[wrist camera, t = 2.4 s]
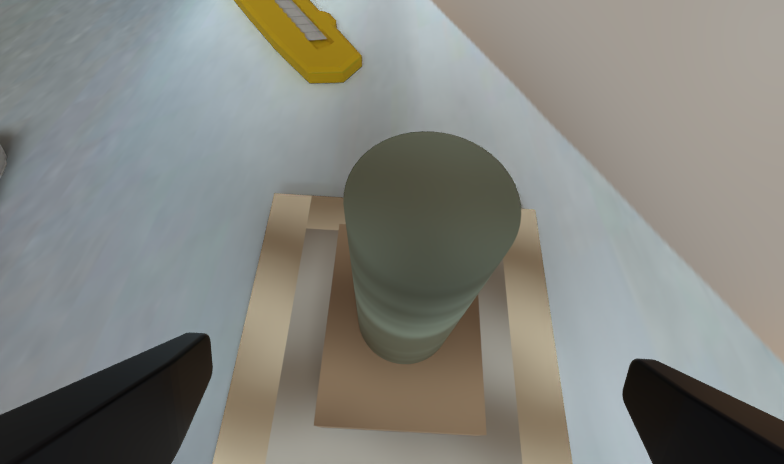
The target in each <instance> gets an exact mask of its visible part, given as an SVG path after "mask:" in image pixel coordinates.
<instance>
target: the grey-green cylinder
mask: <svg viewBox="0 0 784 464" xmlns="http://www.w3.org/2000/svg"><path fill="white" fill-rule="evenodd" d="M343 205H344V214H345V222H346V224H339V231H338V239H337V247H336V255H335V262H334V270H333V278H332V286H331V293H330V301H329V309H328V317H327V324H326V332H325V340H324V348H323V356H322V363H321V371H320V379H319V387H318V394H317V402H316V410H315V418H314V425H313V426H317V427H321V428H335V429H353V430H371V431H389V432H407V433H425V434H443V435H461V436H480V435H487V434H486V417H485V400H484V383H483V366H482V349H481V332H480V315H479V298H478V293H479V292H480V290H481V289H482V288H483V286H484V285H485V283H486V282H487V281H488V279H489V278H490V276H491V275H492V273H493V272H494V271H495V269H496V268H497V266H498V265H499V264H500V262H501V261H502V259H503V258H504V256H505V255H506V254H507V252H508V251H509V249H510V248H511V246H512V245H513V243H514V241H515V239H516V236H517V234H518V231H519V227H520V222H521V203H520V198H519V194H518V191H517V188H516V185H515V184H514V182H513V180H512V178H511V176H510V175H509V173H508V172H507V170H506V169H505V168H504V166H503V165H502V164H501V163H500V162H499V161H498V160H497V159H496V158H495V157H494V156H493V155H491V154H490V153H489V152H487V151H486V150H485V149H483V148H482V147H480V146H478V145H476V144H475V143H473V142H471V141H468V140H466V139H464V138H461V137H458V136H455V135H451V134H446V133H440V132H423V131H422V132H411V133H406V134H401V135H398V136H394V137H391V138H389V139H387V140H384V141H382V142H381V143H379V144H377V145H375V146H374V147H373V148H371V149H370V150H369V151H367V152H366V153H365V154H364V155H363V156H362V157H361V158H360V159H359V160H358V162H357V163H356V164H355V166H354V167H353V169H352V171H351V172H350V174H349V177H348V179H347V182H346V185H345V190H344V199H343Z"/></svg>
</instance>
